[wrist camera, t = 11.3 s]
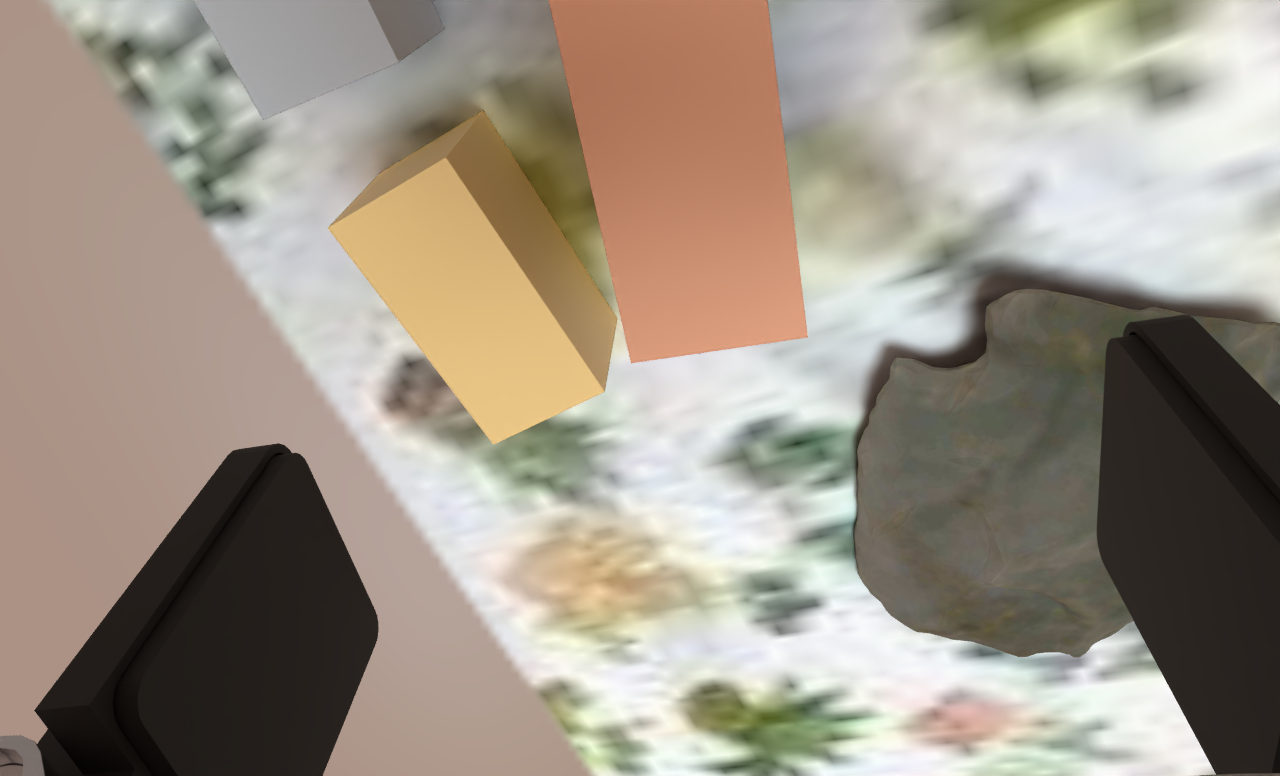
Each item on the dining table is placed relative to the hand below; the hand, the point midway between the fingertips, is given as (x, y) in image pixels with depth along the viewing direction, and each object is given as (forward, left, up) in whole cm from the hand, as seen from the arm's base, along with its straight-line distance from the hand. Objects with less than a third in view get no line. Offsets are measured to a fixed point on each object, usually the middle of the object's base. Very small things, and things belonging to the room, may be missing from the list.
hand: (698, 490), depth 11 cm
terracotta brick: (-1, 0, -15) cm, 15 cm away
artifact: (+15, +10, -20) cm, 27 cm away
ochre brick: (+4, -7, -20) cm, 21 cm away
